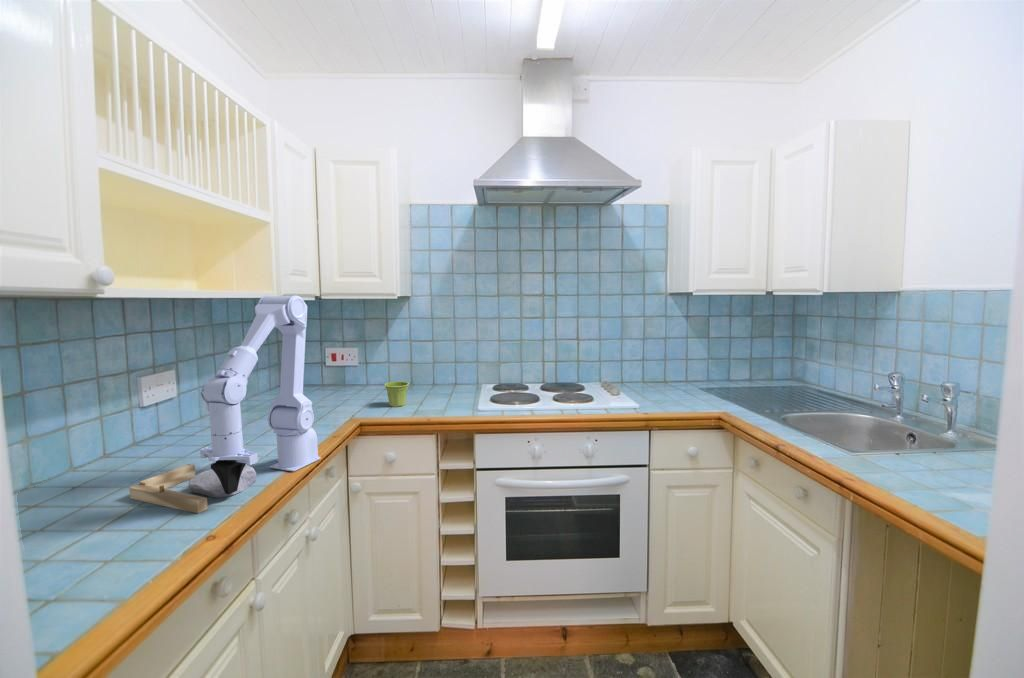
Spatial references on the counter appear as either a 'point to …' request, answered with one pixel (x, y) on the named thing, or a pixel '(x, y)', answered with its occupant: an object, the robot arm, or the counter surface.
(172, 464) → the counter surface
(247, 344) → the robot arm
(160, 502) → the fence
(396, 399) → the plant pot
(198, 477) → the stone block
